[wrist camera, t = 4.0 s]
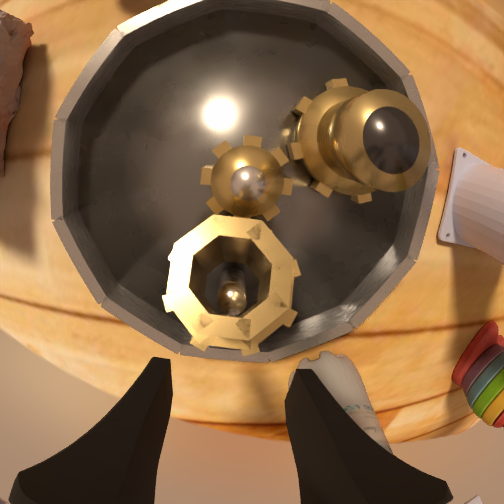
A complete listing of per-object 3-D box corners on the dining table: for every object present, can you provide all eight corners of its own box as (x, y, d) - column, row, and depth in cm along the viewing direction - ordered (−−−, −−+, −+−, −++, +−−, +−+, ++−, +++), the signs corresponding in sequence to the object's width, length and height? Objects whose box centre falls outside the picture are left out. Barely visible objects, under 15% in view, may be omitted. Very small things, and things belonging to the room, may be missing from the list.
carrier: (423, 61, 13) (481, 45, 7) (362, 338, 22) (393, 392, 16) (103, 12, 11) (59, -24, 5) (85, 312, 19) (49, 363, 13)
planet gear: (318, 297, 16) (357, 289, 10) (222, 375, 14) (215, 406, 9) (242, 204, 16) (246, 157, 11) (146, 276, 15) (107, 258, 10)
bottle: (364, 362, 23) (445, 539, 5) (311, 399, 25) (356, 573, 6) (327, 329, 21) (420, 565, 3) (267, 373, 23) (300, 593, 4)
